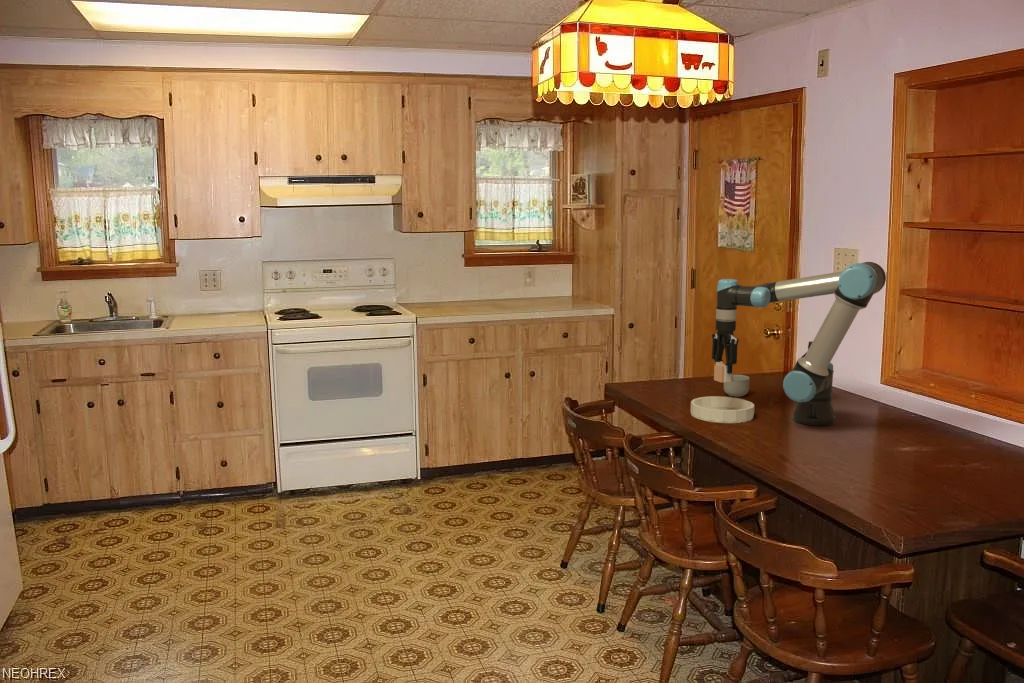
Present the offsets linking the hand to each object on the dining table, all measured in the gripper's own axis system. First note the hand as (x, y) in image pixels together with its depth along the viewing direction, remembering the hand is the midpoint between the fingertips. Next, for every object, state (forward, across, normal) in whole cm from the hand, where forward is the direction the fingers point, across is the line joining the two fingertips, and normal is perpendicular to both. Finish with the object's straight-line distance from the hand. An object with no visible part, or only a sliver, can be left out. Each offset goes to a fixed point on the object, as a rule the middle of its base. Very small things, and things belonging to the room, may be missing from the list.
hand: (723, 380), depth 335 cm
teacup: (+14, +28, -27) cm, 41 cm away
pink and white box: (0, 0, 0) cm, 0 cm away
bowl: (+14, 0, 0) cm, 14 cm away
